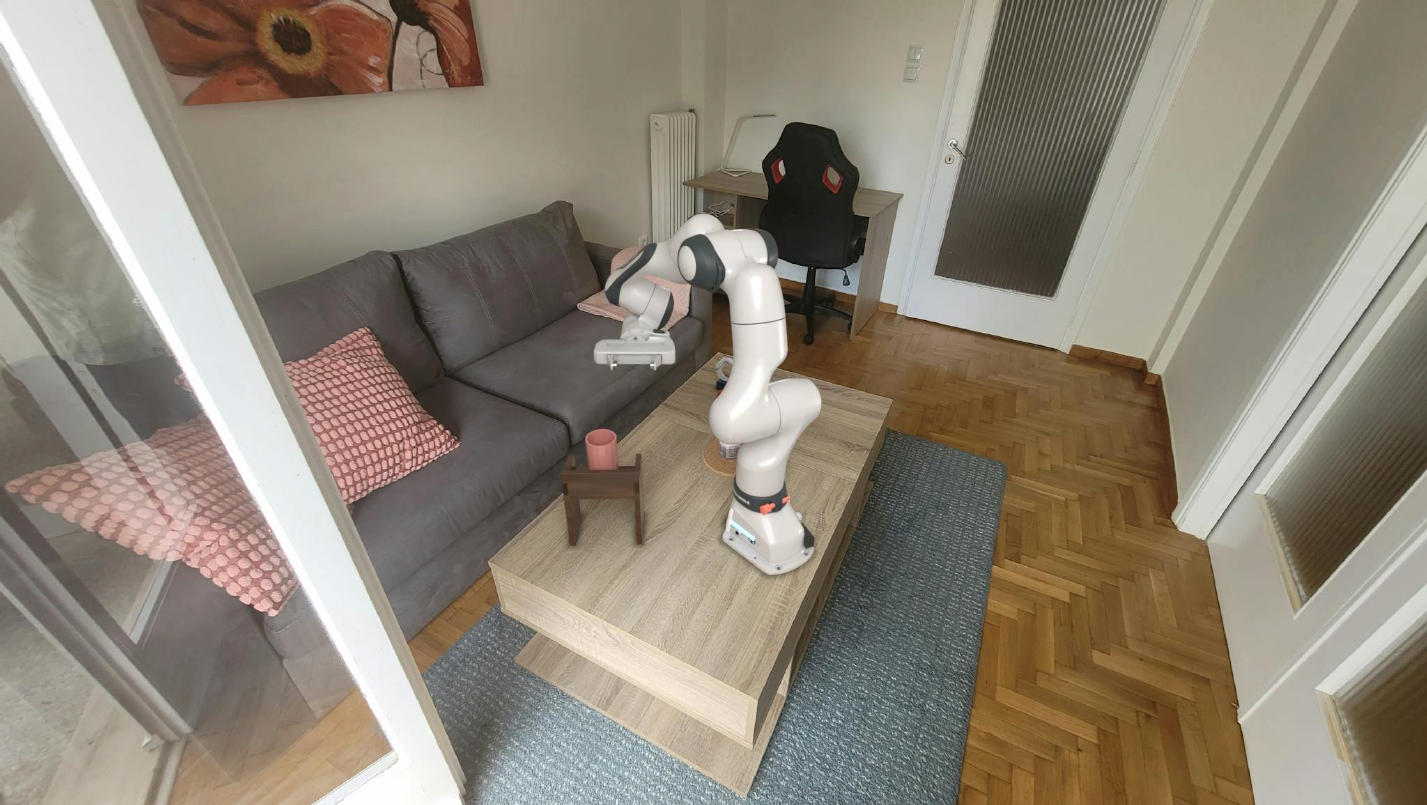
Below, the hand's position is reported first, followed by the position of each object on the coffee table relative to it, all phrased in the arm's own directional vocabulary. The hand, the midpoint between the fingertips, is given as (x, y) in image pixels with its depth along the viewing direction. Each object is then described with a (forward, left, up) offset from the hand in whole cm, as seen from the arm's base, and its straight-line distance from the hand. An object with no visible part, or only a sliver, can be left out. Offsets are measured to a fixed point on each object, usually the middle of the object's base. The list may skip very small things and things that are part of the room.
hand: (633, 367), depth 141 cm
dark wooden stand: (-16, +16, -32) cm, 39 cm away
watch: (+25, -45, -32) cm, 61 cm away
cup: (-14, +15, -17) cm, 27 cm away
